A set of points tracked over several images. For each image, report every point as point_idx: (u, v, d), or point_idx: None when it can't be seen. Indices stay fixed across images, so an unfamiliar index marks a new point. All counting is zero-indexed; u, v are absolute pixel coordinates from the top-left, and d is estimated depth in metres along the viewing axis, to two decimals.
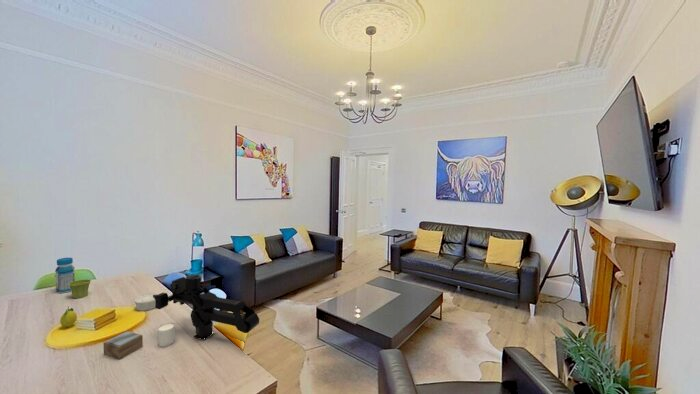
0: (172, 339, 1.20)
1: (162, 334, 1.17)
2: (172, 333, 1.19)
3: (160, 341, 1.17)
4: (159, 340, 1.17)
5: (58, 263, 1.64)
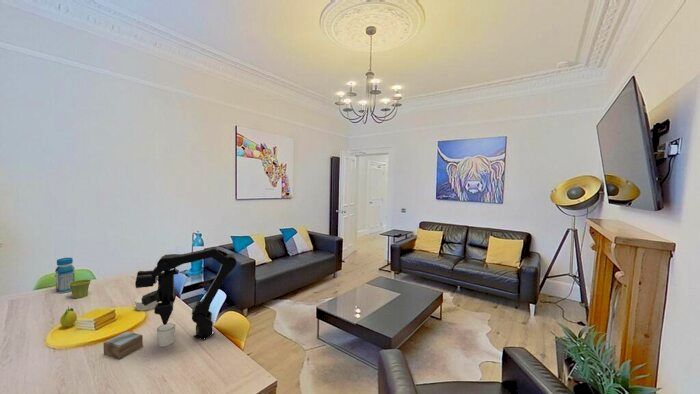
0: (172, 339, 1.20)
1: (162, 334, 1.17)
2: (172, 333, 1.19)
3: (160, 341, 1.17)
4: (159, 340, 1.17)
5: (58, 263, 1.64)
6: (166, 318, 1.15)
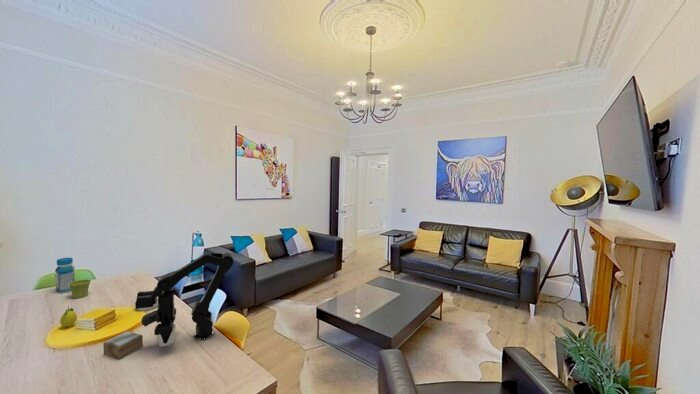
0: (172, 339, 1.20)
1: None
2: (172, 333, 1.19)
3: (160, 341, 1.17)
4: (159, 340, 1.17)
5: (58, 263, 1.64)
6: (166, 337, 1.17)
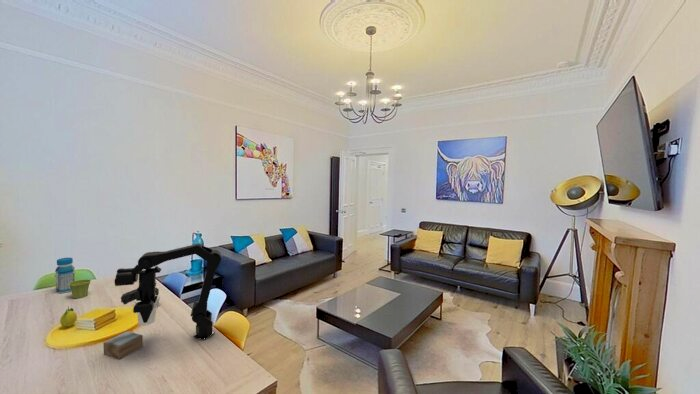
0: (153, 319, 1.16)
1: None
2: (153, 313, 1.16)
3: (140, 320, 1.14)
4: (139, 319, 1.14)
5: (58, 263, 1.64)
6: (146, 316, 1.13)
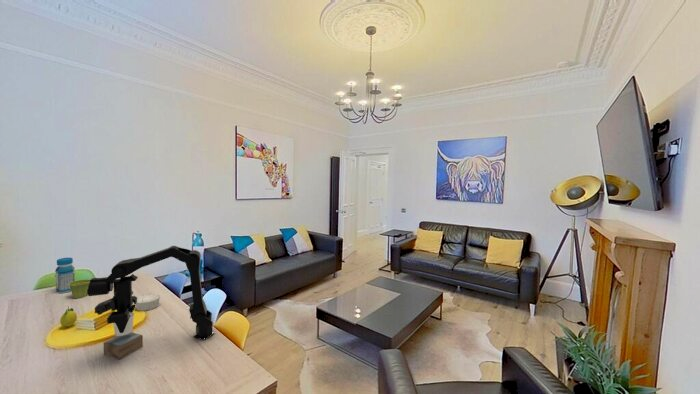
0: (130, 328, 1.13)
1: None
2: (130, 322, 1.13)
3: (116, 330, 1.10)
4: (115, 329, 1.10)
5: (58, 263, 1.64)
6: (122, 326, 1.10)
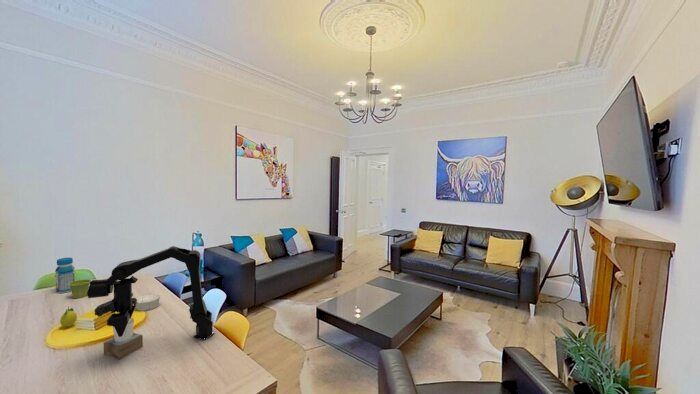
0: (130, 334, 1.13)
1: None
2: (130, 328, 1.13)
3: (116, 336, 1.10)
4: (115, 335, 1.11)
5: (58, 263, 1.64)
6: (121, 330, 1.08)
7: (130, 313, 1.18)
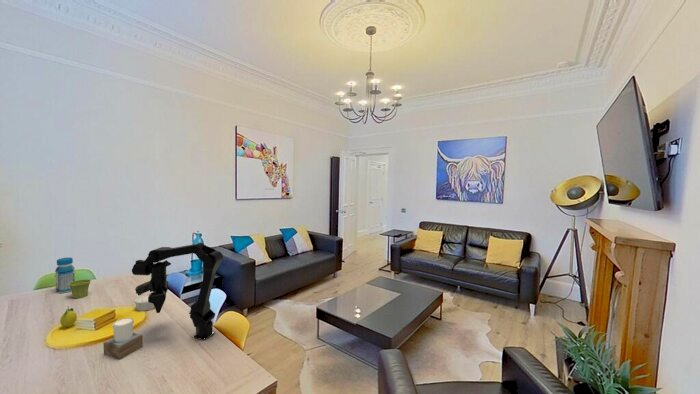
0: (130, 334, 1.13)
1: (118, 329, 1.10)
2: (130, 328, 1.13)
3: (116, 336, 1.10)
4: (115, 335, 1.11)
5: (58, 263, 1.64)
6: (159, 307, 1.21)
7: None
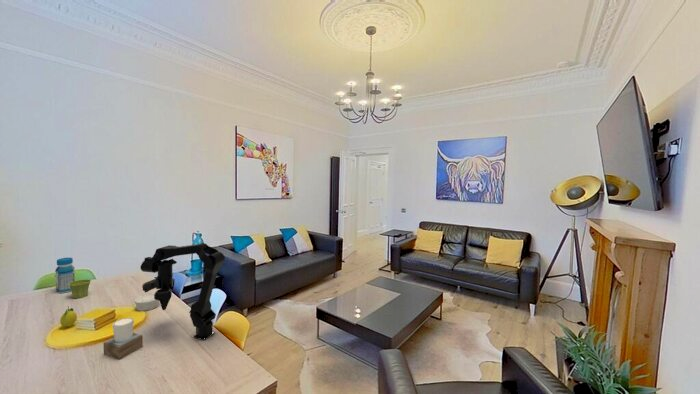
0: (130, 334, 1.13)
1: (118, 329, 1.10)
2: (130, 328, 1.13)
3: (116, 336, 1.11)
4: (115, 335, 1.11)
5: (58, 263, 1.64)
6: (165, 304, 1.24)
7: None
